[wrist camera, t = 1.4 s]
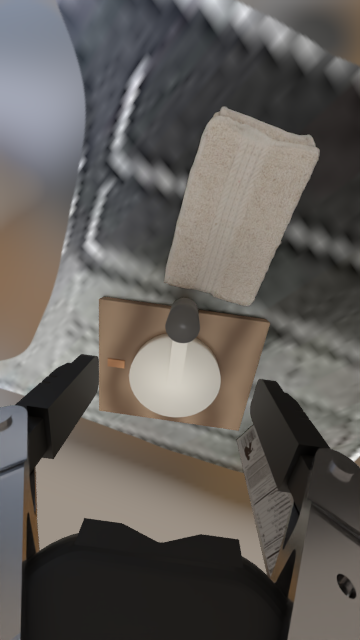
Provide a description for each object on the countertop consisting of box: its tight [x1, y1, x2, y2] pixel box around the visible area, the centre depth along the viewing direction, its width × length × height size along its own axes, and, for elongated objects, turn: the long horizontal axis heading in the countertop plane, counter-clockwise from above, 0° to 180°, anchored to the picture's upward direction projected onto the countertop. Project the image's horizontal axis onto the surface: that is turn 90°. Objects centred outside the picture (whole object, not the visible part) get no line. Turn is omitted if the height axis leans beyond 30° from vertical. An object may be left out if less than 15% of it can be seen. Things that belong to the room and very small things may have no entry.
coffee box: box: [237, 425, 294, 578], centre depth 26 cm, size 9×6×16 cm
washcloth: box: [164, 107, 320, 306], centre depth 23 cm, size 12×18×3 cm, turn 164°
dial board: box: [99, 297, 270, 431], centre depth 29 cm, size 22×18×2 cm
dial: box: [129, 298, 221, 417], centre depth 24 cm, size 18×12×8 cm
